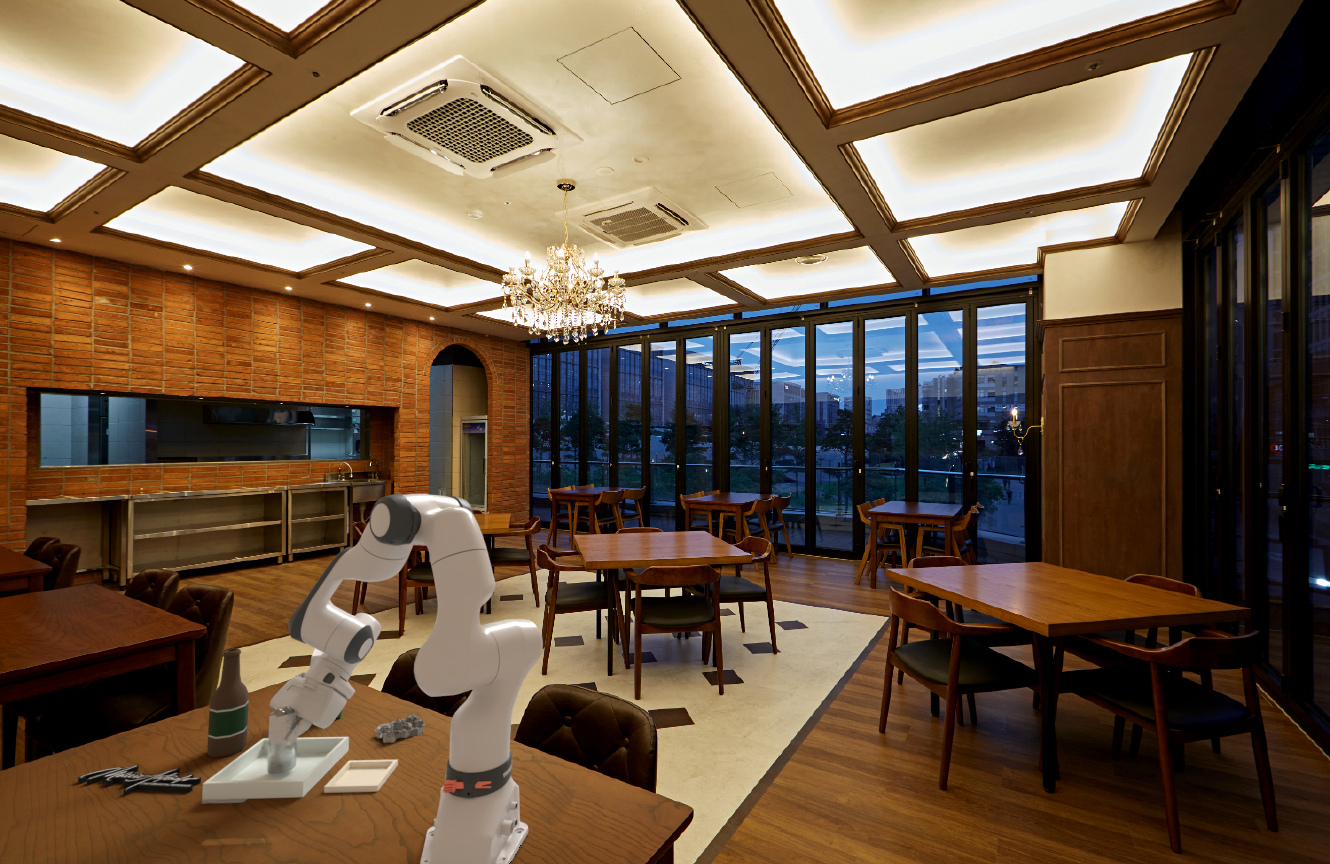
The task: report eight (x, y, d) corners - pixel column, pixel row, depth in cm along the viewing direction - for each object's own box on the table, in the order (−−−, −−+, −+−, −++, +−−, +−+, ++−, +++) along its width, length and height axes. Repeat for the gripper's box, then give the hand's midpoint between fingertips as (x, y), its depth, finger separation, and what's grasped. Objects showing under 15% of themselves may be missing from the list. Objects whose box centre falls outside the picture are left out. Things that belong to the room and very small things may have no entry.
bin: (302, 800, 122) (303, 781, 122) (201, 803, 121) (202, 783, 121) (348, 753, 142) (348, 736, 142) (262, 755, 141) (263, 738, 141)
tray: (377, 794, 124) (377, 785, 125) (323, 796, 124) (324, 786, 124) (397, 768, 135) (398, 759, 135) (348, 769, 135) (348, 760, 135)
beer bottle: (230, 758, 139) (235, 655, 140) (198, 757, 139) (203, 654, 141) (254, 742, 147) (258, 645, 148) (223, 742, 147) (228, 644, 148)
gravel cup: (287, 773, 129) (289, 713, 130) (261, 774, 129) (264, 713, 129) (301, 760, 134) (303, 703, 135) (276, 761, 134) (278, 703, 135)
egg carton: (384, 749, 145) (385, 732, 145) (373, 739, 150) (373, 723, 150) (427, 735, 152) (427, 719, 153) (414, 726, 158) (415, 710, 158)
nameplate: (57, 786, 124) (106, 763, 134) (57, 794, 124) (105, 769, 134) (179, 793, 122) (219, 768, 132) (179, 800, 122) (218, 775, 132)
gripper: (291, 664, 144) (245, 720, 134) (341, 680, 134) (295, 741, 124) (309, 677, 147) (265, 732, 138) (359, 693, 137) (315, 754, 128)
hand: (280, 737), depth 131 cm, fingers closed on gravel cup, 5 cm apart
